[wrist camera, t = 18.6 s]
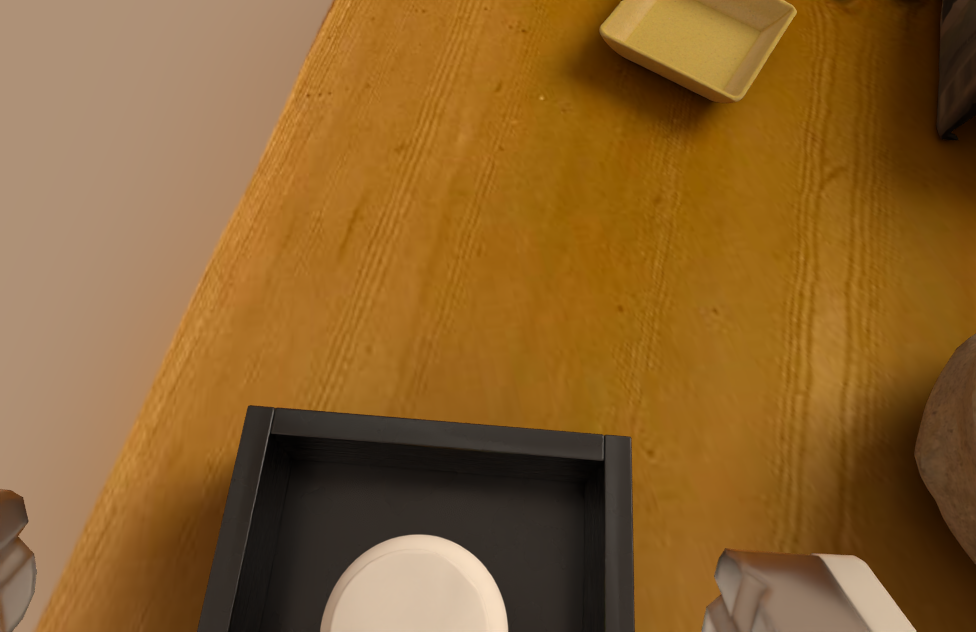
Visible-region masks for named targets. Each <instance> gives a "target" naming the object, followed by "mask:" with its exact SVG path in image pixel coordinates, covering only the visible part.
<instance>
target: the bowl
mask: <svg viewBox="0 0 976 632" xmlns="http://www.w3.org/2000/svg"><path fill="white" fill-rule="evenodd" d="M914 456H915V459H916V463H917V466H918V469H919V473H920V476H921V478H922V480H923V482H924V484H925V486H926V487H927V489H928V491H929V492H930V494H931V495H932V496H933V497H934V499H935V500H936V503H937V505H938V507H939V510H940V512H941V515H942V517H943V519H944V520H945V522H946V524H947V526H948V527H949V529H950V531H951V532H952V534H953V535H954V537H955V538H956V539H957V541H958V542H959V544H960V545H961V546H962V548H963V549H964V551H965V552H966V553H967V555H968V556H969V557H970V558H971V560H972V561H973V562H974V564H975V565H976V334H975V335H973V336H972V337H970V338H969V339H968V340H966V341H965V342H964V343H963V344H962V345H960V346H959V347H958V348H957V349H956V351H955V352H954V354H953V355H952V357H951V358H950V360H949V361H948V363H947V364H946V366H945V367H944V369H943V371H942V372H941V374H940V376H939V377H938V379H937V381H936V383H935V385H934V387H933V389H932V391H931V394H930V396H929V398H928V401H927V403H926V406H925V409H924V413H923V417H922V421H921V424H920V428H919V432H918V436H917V440H916V445H915V453H914Z"/></svg>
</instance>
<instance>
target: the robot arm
mask: <svg viewBox="0 0 976 632" xmlns="http://www.w3.org/2000/svg"><path fill="white" fill-rule="evenodd" d="M27 523H28V517H27V513H26V509H25V504H24V500H23V497H21V496H20V495H18V494H16V493H14V492H13V491H11V490H3V489H0V632H12V631H13V630H14V629H15V627H16V626H17V625H18V624H19V622H20V621H21V620H22V619H23V617H24V615H25V612H26V610H27V608H28V606H29V603H30V601H31V599H32V597H33V594H34V592H35V591H34V590H35V583H36V574H37V569H36V563H35V557H34V553H33V552H32V551H31V550H30V549H29V548H28V547H27V546H26V545H25V544H24V542H23V541H22V540H21V539H20V538H19V537H18V535H19V534H20V533H21V531H22V530H23V529H24V527H25V526H26V524H27ZM714 577H715V580H716V582H717V584H718V587H719V589H720V592H721V595H720V596H719V597H718V598H716V599H715V600H714V601H713V602H712V603H711V604H709V605H708V606H707V607H706V612H705V617H704V622H703V627H702V632H917V631H916V630H915V628H914V627H913V626H912V624H911V623H910V622H909V620H908V619H907V618H906V616H905V615H904V614H903V612H902V611H901V610H900V608H899V607H898V606H897V604H896V603H895V601H894V600H893V599H892V597H891V596H890V595H889V593H888V592H887V591H886V589H885V588H884V587H883V585H882V584H881V583H880V581H879V580H878V579H877V577H876V576H875V575H874V573H873V572H872V570H871V569H870V568H869V566H868V565H867V564H866V563H865V562H864V561H862V560H861V559H859V558H858V557H856V556H852V555H833V554H814V553H812V554H810V555H806V554H793V553H780V552H766V551H753V550H740V549H727V548H725V550H724V551H723V553H722V554H721V556H720V558H719V560H718V564H717V568H716V571H715V575H714Z"/></svg>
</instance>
